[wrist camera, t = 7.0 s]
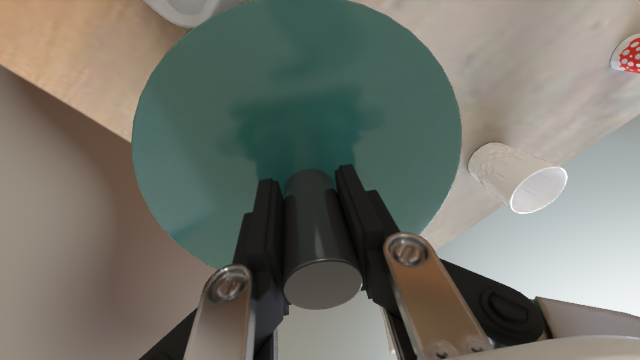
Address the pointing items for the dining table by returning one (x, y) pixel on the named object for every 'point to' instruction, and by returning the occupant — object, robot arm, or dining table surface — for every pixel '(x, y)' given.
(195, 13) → the lumpy-topped squat cylinder
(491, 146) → the white cup
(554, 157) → the dining table surface
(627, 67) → the beverage cup
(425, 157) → the lid
